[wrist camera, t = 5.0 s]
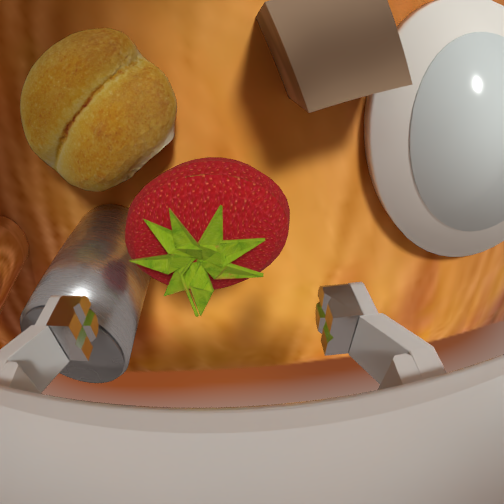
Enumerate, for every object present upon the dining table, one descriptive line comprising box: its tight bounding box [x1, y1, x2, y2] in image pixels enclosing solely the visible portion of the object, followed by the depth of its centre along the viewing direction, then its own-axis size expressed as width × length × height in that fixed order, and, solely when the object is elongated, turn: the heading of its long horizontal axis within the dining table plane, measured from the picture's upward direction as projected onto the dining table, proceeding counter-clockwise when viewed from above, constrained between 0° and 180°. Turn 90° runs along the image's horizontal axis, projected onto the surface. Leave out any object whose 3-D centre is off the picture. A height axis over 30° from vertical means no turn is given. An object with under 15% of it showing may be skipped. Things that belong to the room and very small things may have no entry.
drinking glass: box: [20, 204, 151, 383], centre depth 17 cm, size 6×6×9 cm
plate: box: [364, 0, 504, 257], centre depth 16 cm, size 20×20×1 cm
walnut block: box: [256, 0, 412, 113], centre depth 12 cm, size 5×5×5 cm
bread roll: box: [20, 28, 177, 191], centre depth 13 cm, size 8×9×4 cm
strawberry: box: [125, 158, 290, 317], centre depth 14 cm, size 6×8×10 cm
